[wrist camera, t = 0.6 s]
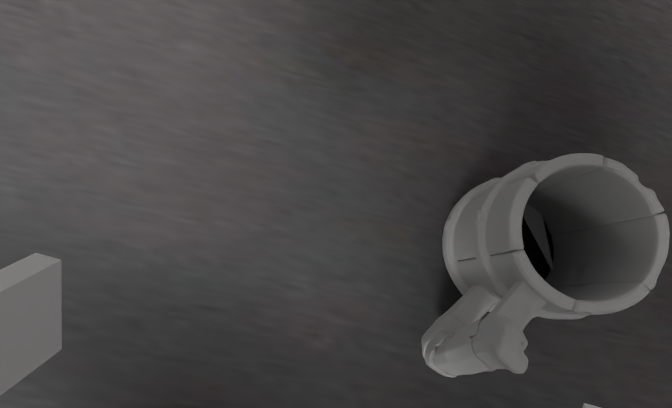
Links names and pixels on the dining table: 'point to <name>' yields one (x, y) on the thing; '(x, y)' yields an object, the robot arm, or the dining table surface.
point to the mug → (568, 261)
